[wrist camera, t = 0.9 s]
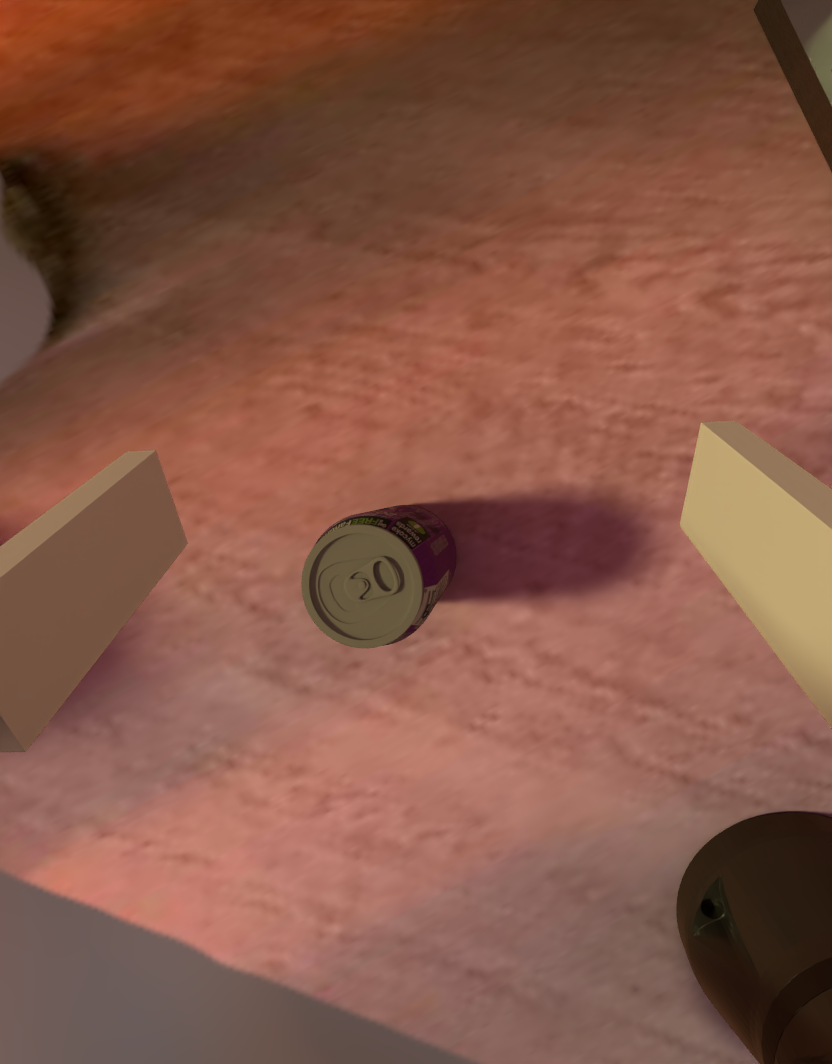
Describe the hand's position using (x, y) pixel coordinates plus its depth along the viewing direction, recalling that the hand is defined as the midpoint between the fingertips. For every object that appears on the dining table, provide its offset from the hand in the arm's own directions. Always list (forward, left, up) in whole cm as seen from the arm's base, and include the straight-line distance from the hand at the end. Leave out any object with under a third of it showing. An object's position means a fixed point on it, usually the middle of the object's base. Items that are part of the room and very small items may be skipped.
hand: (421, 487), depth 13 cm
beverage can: (-2, +7, -24) cm, 25 cm away
